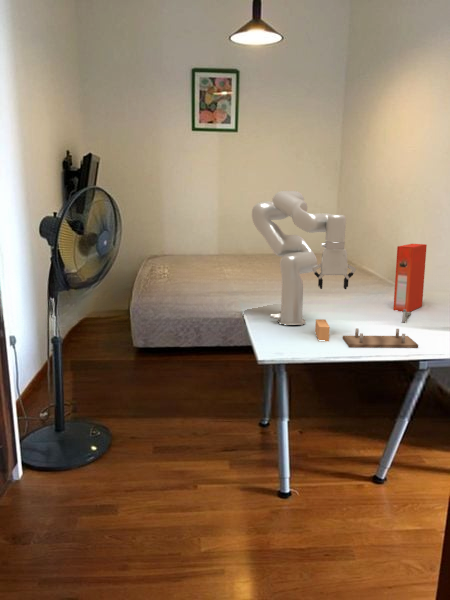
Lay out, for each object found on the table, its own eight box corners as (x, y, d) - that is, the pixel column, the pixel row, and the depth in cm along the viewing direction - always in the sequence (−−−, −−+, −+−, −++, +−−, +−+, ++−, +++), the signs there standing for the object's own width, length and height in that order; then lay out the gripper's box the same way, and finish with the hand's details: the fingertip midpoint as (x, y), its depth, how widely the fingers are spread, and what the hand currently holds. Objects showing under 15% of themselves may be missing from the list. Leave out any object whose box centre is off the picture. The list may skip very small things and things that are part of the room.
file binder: (392, 310, 251) (397, 246, 244) (406, 304, 264) (411, 243, 257) (408, 312, 246) (413, 247, 239) (422, 306, 258) (427, 244, 252)
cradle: (349, 347, 191) (349, 335, 190) (342, 338, 203) (343, 327, 202) (418, 347, 190) (419, 335, 189) (407, 338, 202) (408, 327, 201)
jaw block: (318, 341, 199) (319, 326, 198) (315, 333, 211) (315, 319, 210) (329, 341, 199) (329, 327, 198) (324, 333, 211) (325, 319, 209)
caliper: (404, 323, 226) (405, 310, 225) (401, 323, 227) (402, 309, 225) (411, 314, 244) (412, 301, 242) (409, 314, 244) (410, 301, 243)
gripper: (313, 247, 196) (312, 290, 200) (358, 247, 195) (356, 290, 199) (311, 245, 203) (310, 286, 207) (355, 245, 202) (353, 287, 206)
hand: (332, 288), depth 203 cm, fingers open, 9 cm apart
